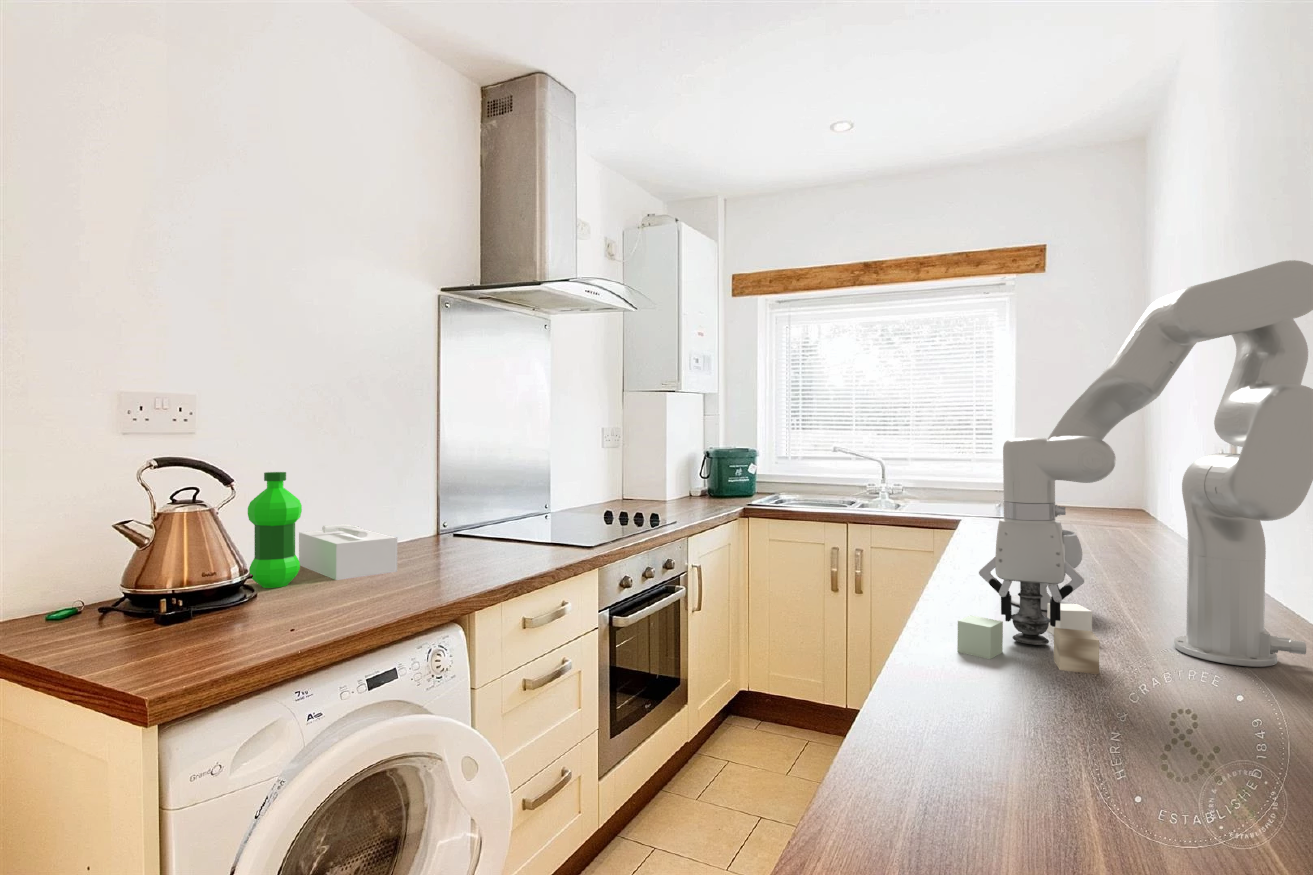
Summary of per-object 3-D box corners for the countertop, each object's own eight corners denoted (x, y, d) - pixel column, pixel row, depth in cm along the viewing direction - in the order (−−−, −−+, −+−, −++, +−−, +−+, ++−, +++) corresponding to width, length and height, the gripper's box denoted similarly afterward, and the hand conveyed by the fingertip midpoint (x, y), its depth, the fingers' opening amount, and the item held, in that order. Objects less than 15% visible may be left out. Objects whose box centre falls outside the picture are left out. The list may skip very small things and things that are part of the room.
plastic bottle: (286, 590, 150) (286, 474, 150) (237, 590, 150) (237, 473, 150) (310, 580, 160) (310, 471, 160) (264, 580, 160) (264, 471, 160)
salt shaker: (1056, 645, 112) (1055, 570, 112) (1016, 644, 113) (1015, 569, 113) (1044, 635, 118) (1043, 564, 118) (1006, 633, 119) (1005, 563, 119)
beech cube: (1091, 664, 106) (1091, 631, 106) (1098, 674, 101) (1099, 640, 101) (1053, 660, 107) (1053, 627, 107) (1059, 670, 103) (1059, 636, 103)
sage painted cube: (1002, 652, 111) (1002, 621, 111) (990, 659, 107) (990, 627, 107) (970, 645, 114) (970, 615, 114) (957, 652, 111) (957, 620, 111)
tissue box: (356, 559, 189) (356, 518, 189) (397, 572, 171) (397, 528, 171) (298, 566, 179) (298, 523, 178) (336, 581, 161) (336, 533, 161)
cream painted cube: (1077, 632, 122) (1077, 604, 122) (1091, 641, 117) (1092, 611, 117) (1047, 631, 123) (1047, 603, 123) (1060, 640, 118) (1060, 610, 118)
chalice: (1066, 617, 132) (1067, 538, 132) (991, 603, 142) (991, 530, 142) (1092, 606, 141) (1092, 531, 141) (1019, 593, 151) (1019, 524, 151)
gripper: (1090, 512, 114) (1091, 623, 114) (974, 508, 123) (976, 610, 123) (1091, 517, 108) (1092, 634, 108) (969, 512, 117) (970, 620, 117)
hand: (1030, 620), depth 115 cm, fingers closed on salt shaker, 5 cm apart
